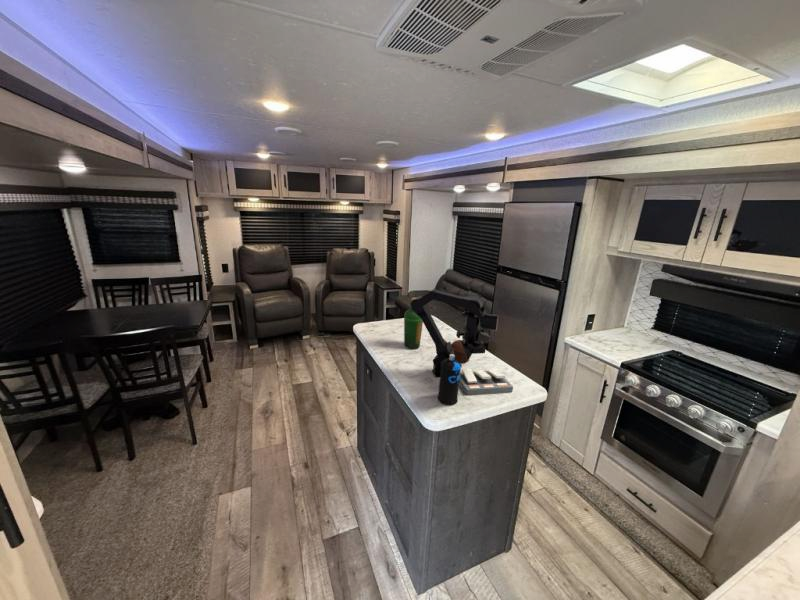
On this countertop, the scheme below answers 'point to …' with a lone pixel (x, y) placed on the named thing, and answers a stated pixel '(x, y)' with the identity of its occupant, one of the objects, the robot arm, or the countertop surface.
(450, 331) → the countertop surface
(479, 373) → the rocker
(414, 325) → the bottle
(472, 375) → the rocker
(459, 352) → the muffin
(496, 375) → the rocker
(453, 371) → the aerosol can
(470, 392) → the switch unit
